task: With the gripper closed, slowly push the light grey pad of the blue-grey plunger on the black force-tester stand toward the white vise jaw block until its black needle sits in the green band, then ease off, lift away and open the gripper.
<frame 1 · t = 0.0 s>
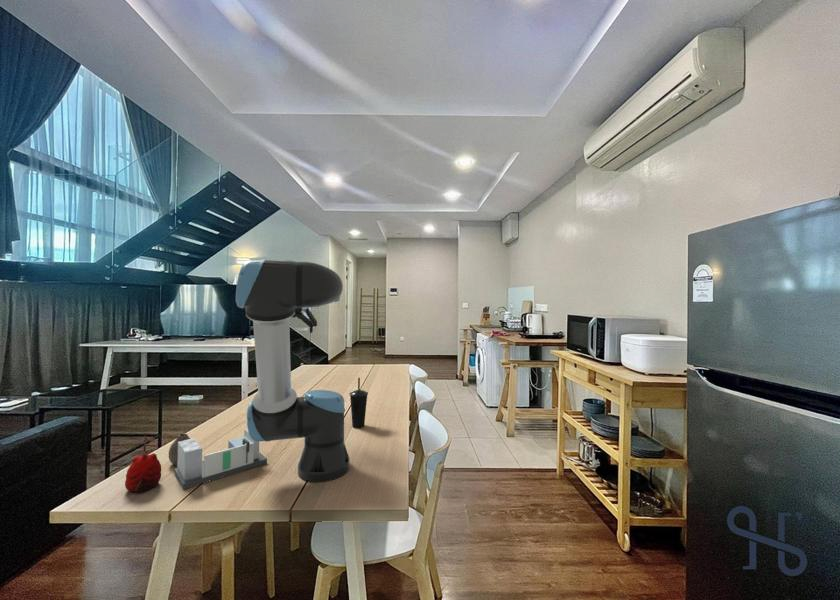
hand: (292, 338, 146), 36 cm above the table, tool tilted 35°, fingers open, 13 cm apart
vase: (181, 463, 106), on the table
drinking cup: (358, 426, 140), on the table
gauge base: (222, 468, 103), on the table
gauge plunger: (244, 446, 106), point 5 cm above the table, slide at 0.0 cm
white vise jaw block: (189, 458, 97), point 6 cm above the table
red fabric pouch: (143, 488, 91), on the table
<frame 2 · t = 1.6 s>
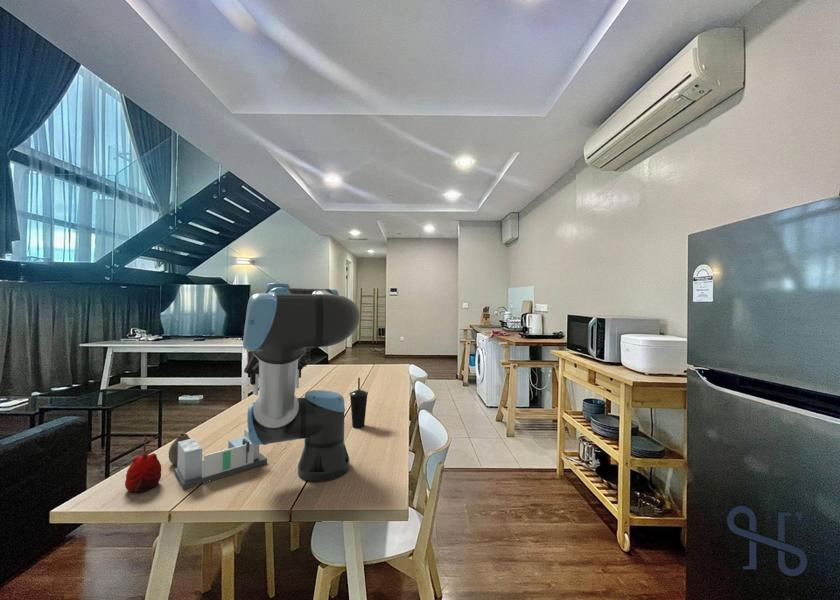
hand: (276, 390, 115), 21 cm above the table, tool pointing down, fingers open, 13 cm apart
nothing on the table moved.
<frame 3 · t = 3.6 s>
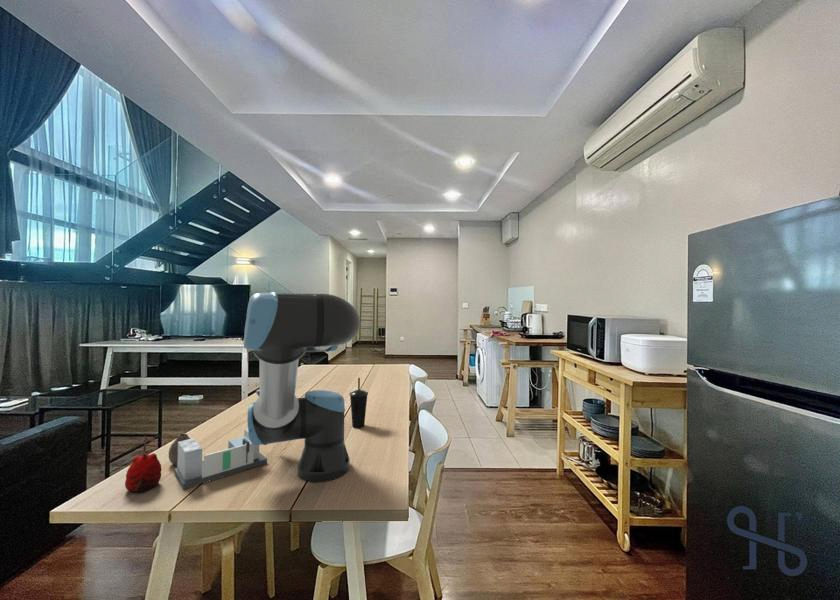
hand: (275, 436, 114), 5 cm above the table, tool pointing down, fingers closed
nothing on the table moved.
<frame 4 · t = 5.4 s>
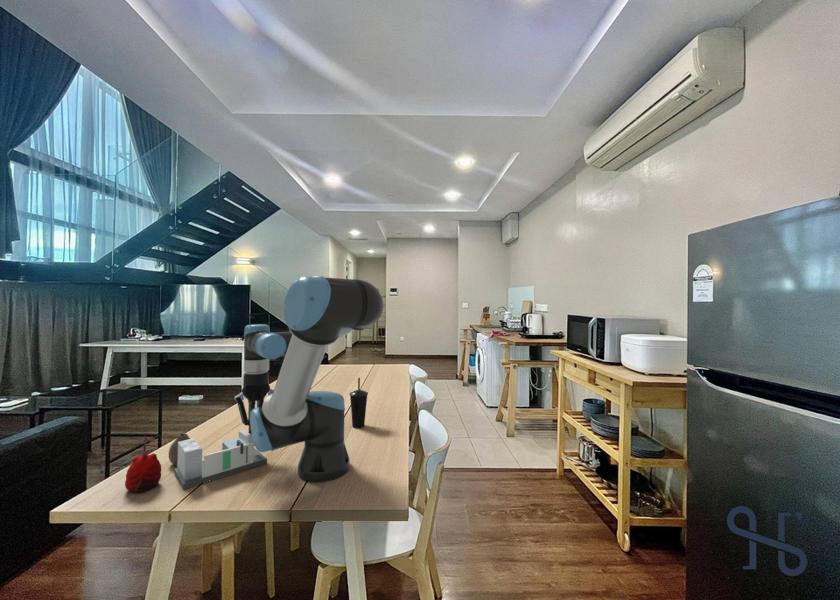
hand: (255, 444, 110), 5 cm above the table, tool pointing down, fingers closed
gauge plunger: (238, 448, 105), point 5 cm above the table, slide at 1.7 cm, touching gripper
everything else where it was.
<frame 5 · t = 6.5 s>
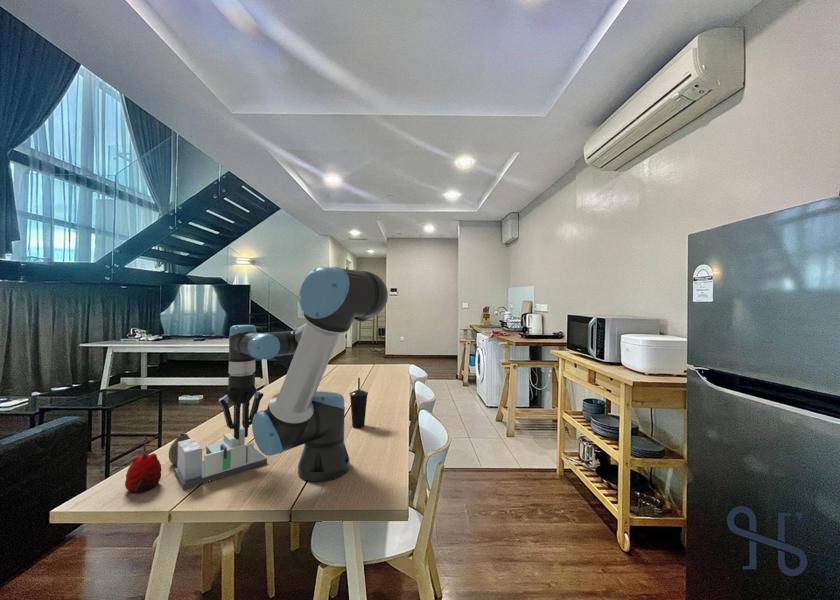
hand: (240, 448, 107), 5 cm above the table, tool pointing down, fingers closed
gauge plunger: (222, 452, 102), point 5 cm above the table, slide at 6.1 cm, touching gripper
everything else where it was.
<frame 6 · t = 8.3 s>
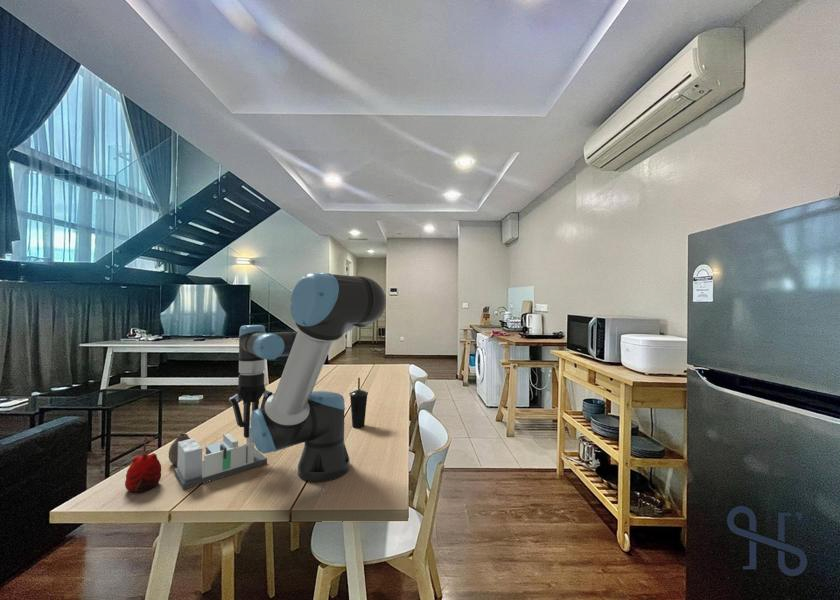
hand: (250, 446, 109), 4 cm above the table, tool pointing down, fingers closed
gauge plunger: (222, 452, 102), point 5 cm above the table, slide at 6.2 cm
everything else where it was.
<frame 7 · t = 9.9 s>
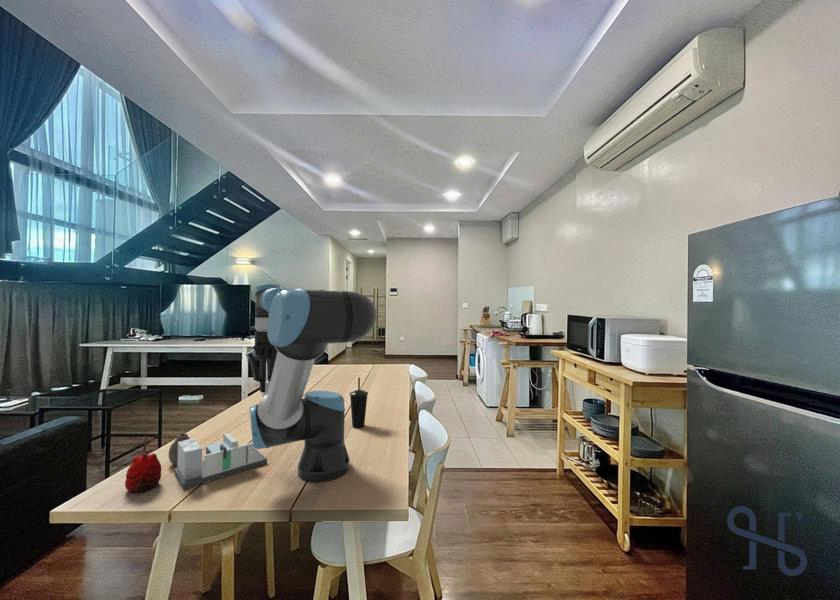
hand: (266, 401, 112), 18 cm above the table, tool pointing down, fingers closed
nothing on the table moved.
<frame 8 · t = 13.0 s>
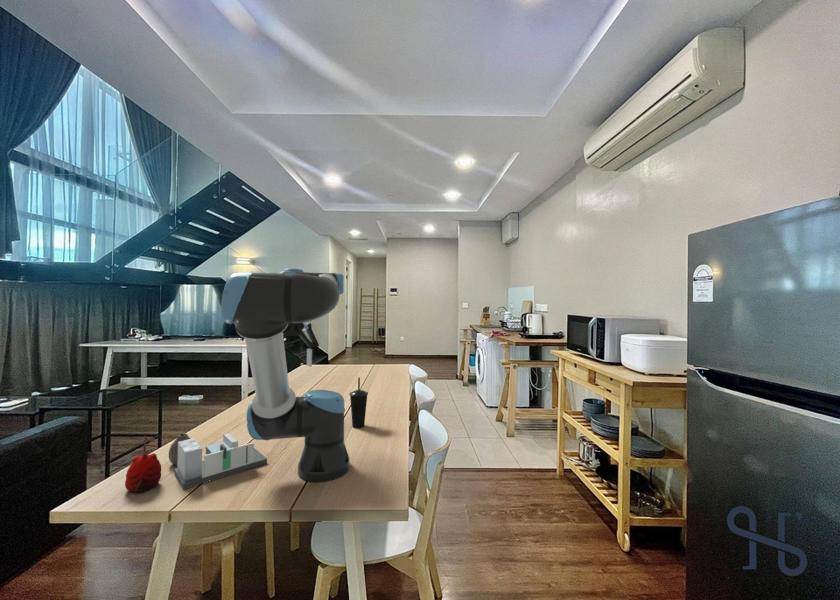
hand: (291, 368, 125), 27 cm above the table, tool pointing down, fingers open, 13 cm apart
nothing on the table moved.
at the end: gauge plunger slide at 6.2 cm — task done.
